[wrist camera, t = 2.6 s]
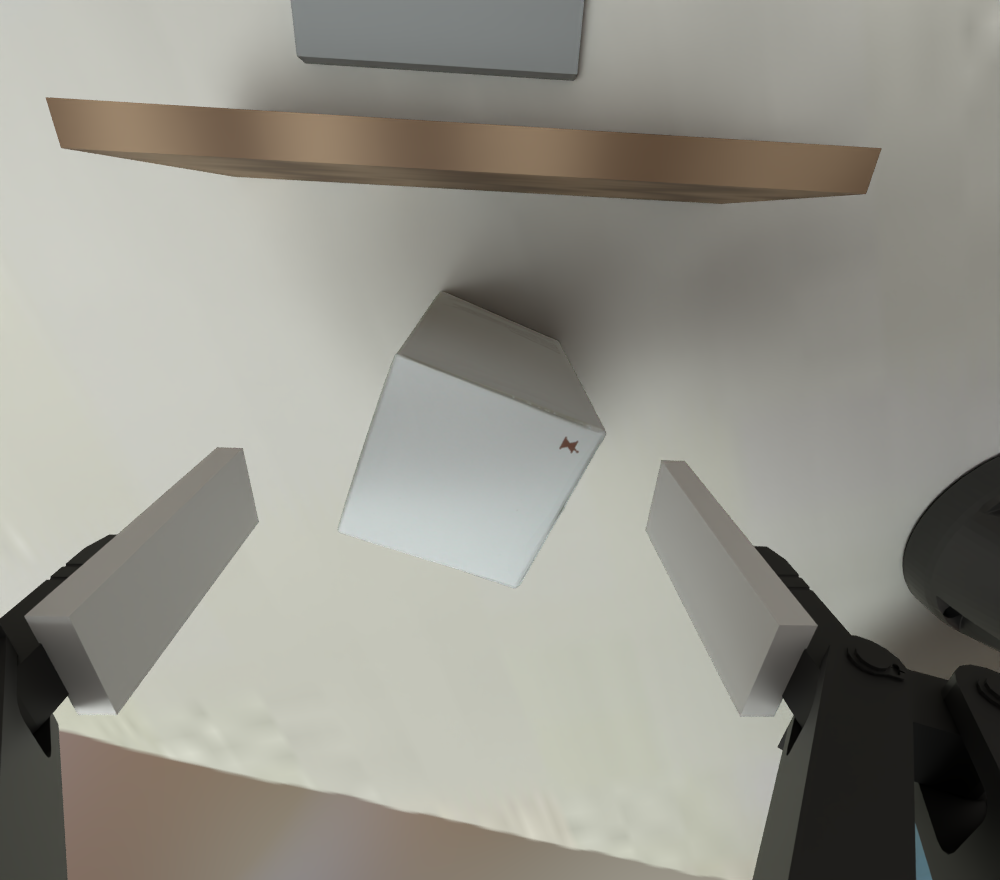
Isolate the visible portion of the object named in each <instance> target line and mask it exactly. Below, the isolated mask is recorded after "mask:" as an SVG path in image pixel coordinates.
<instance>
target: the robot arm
mask: <svg viewBox="0 0 1000 880" xmlns="http://www.w3.org/2000/svg"><path fill="white" fill-rule="evenodd" d="M258 522H259V521H258V516H257V512H256V507H255V502H254V498H253V493H252V489H251V484H250V479H249V475H248V470H247V466H246V461H245V456H244V452H243V448H219V447H217V448H216V449H215V450H214V451H212V452H211V453H210V454H209V455H208V456H207V457H206V458H204V459H203V460H202V461H201V462H200V463H199V464H198V465H196V466H195V467H194V468H193V469H192V470H191V471H190V472H188V473H187V474H186V475H185V476H184V477H183V478H182V479H180V480H179V481H178V482H177V483H176V484H175V485H174V486H172V487H171V488H170V489H169V490H168V491H167V492H166V493H164V494H163V495H162V496H161V497H160V498H159V499H158V500H156V501H155V502H154V503H153V504H152V505H151V506H149V507H148V508H147V509H146V510H145V511H144V512H143V513H141V514H140V515H139V516H138V517H137V518H136V519H135V520H133V521H132V522H131V523H130V524H129V525H128V526H127V527H125V528H124V529H123V530H122V531H121V532H120V533H119V534H117V535H108V536H106V537H104V538H102V539H100V540H99V541H97V542H95V543H93V544H91V545H89V546H87V547H86V548H84V549H83V550H82V551H80V552H79V553H78V554H77V555H76V556H75V557H73V558H72V559H71V560H70V561H69V562H67V563H66V566H65V567H61V568H60V569H59V570H58V571H57V572H55V573H54V574H53V575H52V576H51V578H50V580H46V581H45V582H43V583H42V584H41V585H40V586H39V587H37V588H36V589H35V590H34V591H33V592H31V593H30V594H29V595H28V596H27V597H25V598H24V599H23V600H22V601H21V602H19V603H18V604H17V605H16V606H15V607H13V608H12V609H11V610H10V611H9V612H7V613H6V614H5V615H4V616H3V617H2V618H0V880H67V864H66V847H65V829H64V813H63V796H62V778H61V761H60V745H59V727H58V723H57V721H56V719H55V717H54V715H53V712H54V711H55V710H56V709H57V707H58V706H59V705H60V704H61V703H62V702H63V701H64V699H65V698H66V697H67V696H68V697H69V699H70V701H71V703H72V705H73V707H74V708H75V710H76V712H77V714H78V715H117V714H118V713H119V711H120V710H121V709H122V707H123V706H124V705H125V703H126V702H127V701H128V699H129V698H130V696H131V695H132V694H133V692H134V691H135V690H136V688H137V687H138V686H139V684H140V683H141V682H142V680H143V679H144V677H145V676H146V675H147V673H148V672H149V671H150V669H151V668H152V667H153V665H154V664H155V662H156V661H157V660H158V658H159V657H160V656H161V654H162V653H163V652H164V650H165V649H166V647H167V646H168V645H169V643H170V642H171V641H172V639H173V638H174V637H175V635H176V634H177V632H178V631H179V630H180V628H181V627H182V626H183V624H184V623H185V622H186V620H187V619H188V617H189V616H190V615H191V613H192V612H193V611H194V609H195V608H196V607H197V605H198V604H199V602H200V601H201V600H202V598H203V597H204V596H205V594H206V593H207V592H208V590H209V589H210V587H211V586H212V585H213V583H214V582H215V581H216V579H217V578H218V577H219V575H220V574H221V572H222V571H223V570H224V568H225V567H226V566H227V564H228V563H229V562H230V560H231V559H232V557H233V556H234V555H235V553H236V552H237V551H238V549H239V548H240V547H241V545H242V544H243V543H244V541H245V540H246V538H247V537H248V536H249V534H250V533H251V532H252V530H253V529H254V528H255V526H256V525H257V523H258ZM646 532H647V534H648V536H649V538H650V540H651V542H652V544H653V546H654V548H655V550H656V552H657V554H658V556H659V558H660V560H661V562H662V564H663V566H664V568H665V570H666V571H667V573H668V575H669V577H670V579H671V581H672V583H673V585H674V587H675V589H676V591H677V593H678V595H679V597H680V599H681V601H682V603H683V605H684V607H685V609H686V611H687V613H688V615H689V617H690V619H691V621H692V623H693V625H694V627H695V629H696V631H697V633H698V634H699V636H700V638H701V640H702V642H703V644H704V646H705V648H706V650H707V652H708V654H709V656H710V658H711V660H712V662H713V664H714V666H715V668H716V670H717V672H718V674H719V676H720V678H721V680H722V682H723V684H724V686H725V688H726V690H727V692H728V694H729V696H730V697H731V699H732V701H733V703H734V705H735V707H736V709H737V711H738V713H739V715H740V716H775V713H776V711H777V709H778V707H779V705H780V703H781V701H782V699H783V698H784V700H785V702H786V703H787V705H788V707H789V708H790V710H791V711H792V713H793V715H794V716H793V718H792V720H791V722H790V724H789V726H788V727H787V729H786V731H785V733H784V735H783V737H782V739H781V741H780V743H779V745H778V748H780V749H782V750H783V752H782V756H781V760H780V764H779V769H778V773H777V777H776V782H775V786H774V790H773V794H772V799H771V803H770V807H769V812H768V816H767V820H766V824H765V829H764V833H763V837H762V841H761V846H760V850H759V854H758V859H757V863H756V867H755V871H754V876H753V880H1000V673H997V672H995V671H992V670H990V669H987V668H984V667H979V666H974V665H965V666H959V667H958V669H957V670H956V671H955V672H954V673H953V675H952V676H951V678H950V679H949V680H945V679H942V678H938V677H934V676H930V675H926V674H922V673H919V672H915V671H911V670H907V669H906V667H905V666H904V665H903V664H902V662H901V661H900V660H899V659H898V658H897V657H895V656H894V655H893V654H892V653H890V652H889V651H888V650H887V649H885V648H883V647H881V646H879V645H878V644H876V643H874V642H872V641H870V640H867V639H864V638H861V637H858V636H853V635H851V634H850V633H849V632H848V631H847V630H846V629H845V628H844V626H843V625H842V624H841V623H840V622H839V621H838V620H837V618H836V617H835V616H834V615H833V614H832V613H831V611H830V610H829V609H828V608H827V607H826V606H825V605H824V603H823V602H822V601H821V600H820V599H819V598H818V596H817V595H816V594H815V593H814V592H813V591H812V590H810V589H809V586H808V585H807V584H806V583H805V582H804V580H803V579H802V578H799V575H798V573H797V572H796V571H795V570H794V569H793V568H792V567H791V565H790V564H789V563H788V562H787V561H786V560H785V559H784V558H782V557H781V556H779V555H778V554H777V553H775V552H774V551H772V550H771V549H769V548H768V547H761V546H753V545H752V544H751V542H750V541H749V540H748V539H747V537H746V536H745V535H744V534H743V532H742V531H741V530H740V529H739V527H738V526H737V525H736V524H735V523H734V521H733V520H732V519H731V518H730V516H729V515H728V514H727V513H726V511H725V510H724V509H723V508H722V506H721V505H720V504H719V503H718V502H717V500H716V499H715V498H714V497H713V495H712V494H711V493H710V492H709V490H708V489H707V488H706V487H705V485H704V484H703V483H702V482H701V480H700V479H699V478H698V477H697V476H696V474H695V473H694V472H693V471H692V469H691V468H690V467H689V466H688V464H687V463H686V462H685V461H666V460H661V465H660V469H659V473H658V478H657V482H656V486H655V491H654V495H653V500H652V504H651V508H650V513H649V517H648V521H647V526H646ZM903 571H904V577H905V581H906V584H907V586H908V588H909V590H910V591H911V593H912V594H913V595H914V596H915V597H916V598H917V599H918V600H919V601H920V602H921V603H922V604H923V605H924V606H926V607H927V608H928V609H929V610H930V611H931V612H932V613H933V614H935V615H936V616H937V617H938V618H939V619H940V620H942V621H943V622H944V623H946V624H947V625H949V626H950V627H952V628H954V629H956V630H957V631H959V632H961V633H963V634H965V635H967V636H969V637H971V638H973V639H975V640H977V641H979V642H981V643H983V644H985V645H987V646H989V647H991V648H993V649H995V650H997V651H999V652H1000V456H999V457H997V458H995V459H993V460H991V461H989V462H987V463H985V464H983V465H982V466H980V467H978V468H977V469H975V470H973V471H972V472H970V473H969V474H967V475H966V476H965V477H963V478H962V479H960V480H959V481H958V482H956V483H955V484H954V485H953V486H951V487H950V488H949V489H948V490H947V491H946V492H945V493H944V494H942V495H941V496H940V497H939V498H938V499H937V500H936V501H935V502H934V504H933V505H932V506H931V507H930V508H929V509H928V510H927V512H926V513H925V514H924V516H923V517H922V518H921V520H920V521H919V523H918V524H917V526H916V527H915V529H914V531H913V533H912V535H911V537H910V539H909V542H908V544H907V547H906V551H905V555H904V562H903Z"/></svg>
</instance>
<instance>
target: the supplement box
mask: <svg viewBox="0 0 1000 880" xmlns="http://www.w3.org/2000/svg"><path fill="white" fill-rule="evenodd" d="M605 435H606V431H605V429H604V427H603V425H602V423H601V421H600V419H599V417H598V415H597V414H596V412H595V410H594V408H593V406H592V404H591V402H590V400H589V398H588V396H587V394H586V393H585V391H584V389H583V387H582V385H581V383H580V381H579V379H578V377H577V375H576V373H575V371H574V369H573V368H572V366H571V364H570V362H569V360H568V358H567V356H566V354H565V352H564V350H563V348H562V347H561V345H560V343H559V341H557V340H555V339H552V338H550V337H548V336H545V335H543V334H541V333H539V332H536V331H534V330H531V329H529V328H527V327H524V326H522V325H520V324H518V323H515V322H513V321H510V320H508V319H506V318H504V317H501V316H499V315H497V314H494V313H492V312H490V311H488V310H485V309H483V308H481V307H478V306H476V305H474V304H471V303H469V302H467V301H464V300H462V299H460V298H457V297H455V296H453V295H450V294H448V293H445V292H440V293H439V294H438V295H437V296H436V298H435V299H434V300H433V302H432V303H431V305H430V306H429V308H428V309H427V311H426V312H425V314H424V315H423V317H422V318H421V320H420V321H419V323H418V324H417V325H416V327H415V328H414V330H413V331H412V333H411V334H410V336H409V337H408V338H407V340H406V341H405V343H404V344H403V345H402V347H401V348H400V350H399V351H398V353H397V354H396V355H395V356H394V359H393V361H392V364H391V366H390V369H389V372H388V374H387V377H386V380H385V383H384V386H383V389H382V392H381V395H380V398H379V400H378V403H377V406H376V409H375V412H374V415H373V418H372V421H371V424H370V427H369V430H368V433H367V436H366V439H365V442H364V445H363V449H362V452H361V455H360V458H359V461H358V464H357V467H356V470H355V473H354V477H353V480H352V483H351V486H350V489H349V492H348V496H347V499H346V502H345V505H344V509H343V512H342V516H341V519H340V523H339V526H338V532H339V533H342V534H345V535H348V536H352V537H355V538H358V539H361V540H364V541H367V542H370V543H373V544H377V545H380V546H383V547H386V548H390V549H393V550H396V551H399V552H402V553H406V554H409V555H412V556H415V557H418V558H422V559H425V560H428V561H431V562H435V563H438V564H442V565H445V566H448V567H452V568H455V569H458V570H461V571H464V572H467V573H470V574H473V575H475V576H478V577H481V578H484V579H487V580H490V581H494V582H497V583H500V584H503V585H506V586H508V587H511V588H517V587H518V586H519V585H520V584H521V583H522V581H523V579H524V577H525V576H526V574H527V572H528V571H529V569H530V567H531V565H532V563H533V561H534V560H535V558H536V556H537V554H538V553H539V551H540V549H541V547H542V546H543V544H544V542H545V540H546V539H547V537H548V535H549V533H550V531H551V530H552V528H553V526H554V525H555V523H556V521H557V520H558V518H559V517H560V515H561V513H562V512H563V510H564V508H565V506H566V503H567V502H568V500H569V498H570V496H571V495H572V493H573V491H574V489H575V487H576V486H577V484H578V482H579V480H580V479H581V477H582V475H583V473H584V472H585V470H586V468H587V466H588V465H589V463H590V461H591V459H592V458H593V456H594V454H595V452H596V451H597V449H598V447H599V445H600V444H601V443H602V441H603V439H604V437H605Z"/></svg>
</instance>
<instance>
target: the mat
mask: <svg viewBox="0 0 1000 880" xmlns="http://www.w3.org/2000/svg"><path fill="white" fill-rule="evenodd" d="M291 7H292V16H293V25H294V34H295V43H296V52H297V57H299V58H300V59H301V60H302V61H303V62H305V63H310V64H325V65H341V66H356V67H372V68H387V69H403V70H418V71H433V72H449V73H464V74H480V75H495V76H511V77H526V78H542V79H557V80H574V79H575V77H576V75H577V70H578V60H579V50H580V39H581V29H582V19H583V8H584V0H291Z"/></svg>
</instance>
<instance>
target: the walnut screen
mask: <svg viewBox="0 0 1000 880" xmlns="http://www.w3.org/2000/svg"><path fill="white" fill-rule="evenodd" d="M46 100H47V103H48V107H49V110H50V113H51V116H52V120H53V123H54V126H55V130H56V133H57V136H58V139H59V143H60V146H61V148H64V149H70V150H76V151H82V152H88V153H95V154H101V155H107V156H113V157H119V158H125V159H131V160H137V161H143V162H149V163H155V164H161V165H167V166H173V167H179V168H185V169H191V170H197V171H203V172H209V173H215V174H221V175H227V176H233V177H250V178H268V179H286V180H304V181H321V182H339V183H357V184H375V185H393V186H411V187H429V188H447V189H465V190H483V191H501V192H519V193H537V194H555V195H573V196H591V197H609V198H626V199H644V200H662V201H680V202H698V203H716V204H725V203H740V202H754V201H769V200H784V199H799V198H814V197H829V196H843V195H858V194H866V192H867V189H868V187H869V184H870V181H871V178H872V175H873V172H874V169H875V166H876V163H877V160H878V157H879V154H880V152H881V149H882V148H868V147H852V146H835V145H819V144H803V143H786V142H770V141H753V140H737V139H720V138H704V137H688V136H671V135H655V134H638V133H622V132H605V131H589V130H573V129H556V128H540V127H523V126H507V125H491V124H474V123H458V122H441V121H425V120H408V119H392V118H376V117H359V116H343V115H326V114H310V113H293V112H277V111H261V110H244V109H228V108H211V107H195V106H179V105H162V104H146V103H129V102H113V101H96V100H80V99H64V98H47V97H46Z"/></svg>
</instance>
